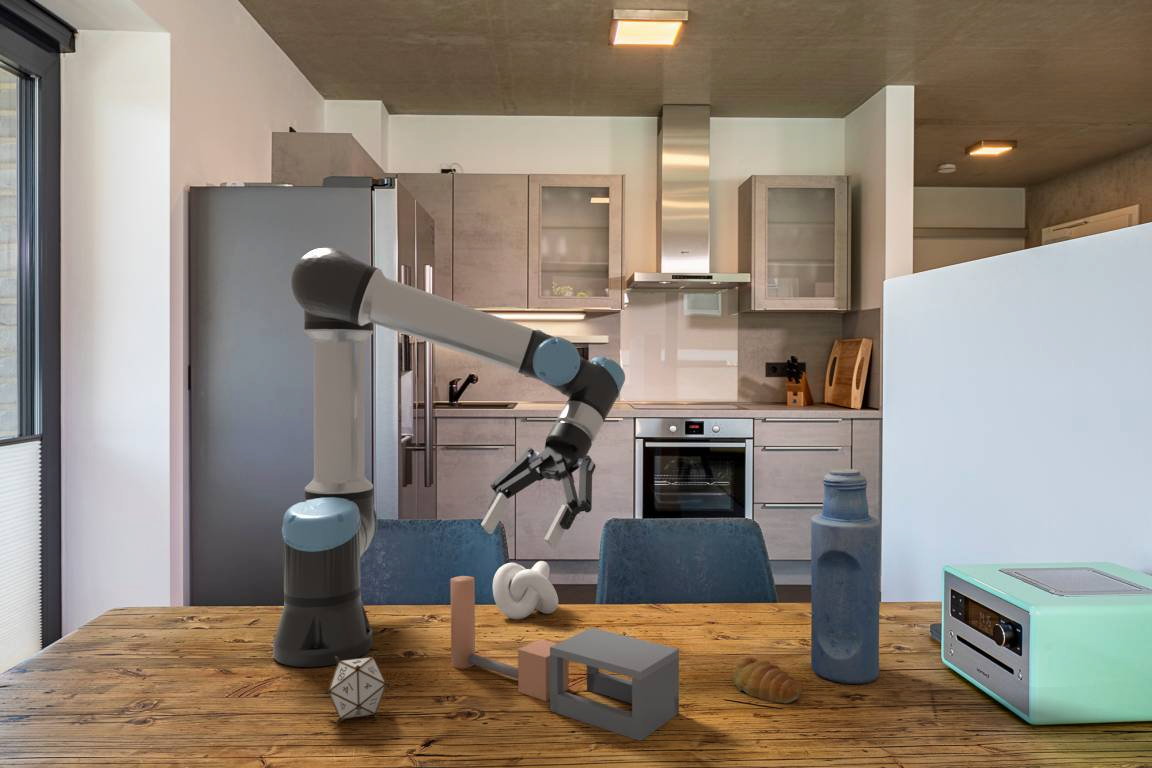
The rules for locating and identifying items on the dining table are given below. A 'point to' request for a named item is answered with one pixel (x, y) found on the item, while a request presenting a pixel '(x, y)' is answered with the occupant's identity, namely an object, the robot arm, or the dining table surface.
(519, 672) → the block
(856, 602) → the bottle
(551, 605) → the white knot
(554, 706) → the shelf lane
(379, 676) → the game die
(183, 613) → the dining table surface
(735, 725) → the dining table surface
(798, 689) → the pastry
